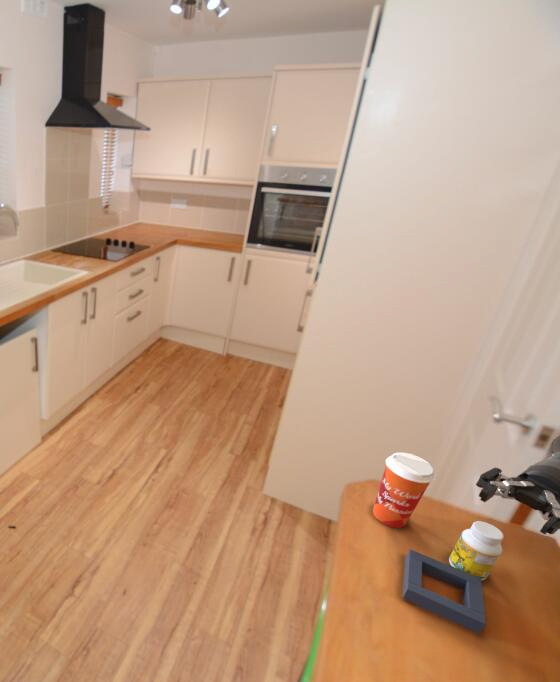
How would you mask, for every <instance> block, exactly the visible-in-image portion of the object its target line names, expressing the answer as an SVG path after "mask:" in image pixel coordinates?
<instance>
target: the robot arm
mask: <svg viewBox="0 0 560 682" xmlns="http://www.w3.org/2000/svg"><path fill="white" fill-rule="evenodd" d="M502 472H503V470H502V469H501V468H499V467H493V468H491V469H489V470H487V471H485V472H483V473H481V474H480V475H479V478H478V480H477V482H476V483H475V486H476V487H478V488H480V489H481V490H480V491H479V494H478V497H479V498H480V499H479V500H480V501H481V502H483V503H486V502H488V501H489V500H490V499H492V498H493V497H494V496H496V497H497V496H498V497H501V498H502V499H508V500H515V501H516V502H518V503H521V504H523V505H526V506H528V507H529V508H530V509H533V510H534V511H538V513H539V514H540V516H541V518H542V519H543V520H545V521H546V522H545V523H544V524H543V526H542V527H541V528H540V530H539V532H540V533H541V534H543V535H547V534H549V535H554V534H556V532H557V531H559V530H560V436H559V435H557V436H556V437H555V438H553V440H552V441H551V442H550V444H549V446H548V448H547V452H546V457H545V458H543V459H542V460H540V461H538V462H535V463H534V464H532V465H530V466H528V467H527V469H525V470H524V471H522V472H521V473H519V474H518V475H517V476H515V477H513V476H511V477H509V476H507V475H505V474H503V473H502Z"/></svg>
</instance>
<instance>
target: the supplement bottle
mask: <svg viewBox="0 0 560 682" xmlns="http://www.w3.org/2000/svg"><path fill="white" fill-rule="evenodd" d="M504 537H505V536H504V533H503V532H502V531H501V529H499V528H498V527H497V526H495V525H493V524H490V523H488V522H485V521H481V520H477V521H474V522H473V523H472V525H471V526H470V528H466V529H464V530H463V531H462V532H461V534H460V536H459V538H458V540H457V542H456V544H455V545H454V548H453V550H452V552H451V553H450V555H449V558H448V561H449V565H450V566H452V567H455V568H457V569H459V570H462V571H464V572H467V573H469V574H472V575H474V576H476V577H479V578H481V581H485V580H486V579H487V578H488V577H489V575H490V573H491V572H492V570H493V568H494V567H495V565H496V563H497V562H498V560H499V558H500V557H501V554H502V553H503V546H502V544H501V543H502V542H503V540H504Z"/></svg>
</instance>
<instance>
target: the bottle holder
mask: <svg viewBox="0 0 560 682" xmlns="http://www.w3.org/2000/svg"><path fill="white" fill-rule="evenodd" d="M423 575H426V576H428V577H431V578H433V579H436V580H438V581H440V582H442V583H444V584H447V585H449V586H452V587H454V588H456V589H459V590H461V595H462V604H461V603H459V602H457V601H454V600H451V599H449V598H447V597H445V596H443V595H441V594H438V593H436V592H434V591H432V590H429V589H428V588H426V587H422V586H423ZM482 582H483V580H481V578H479V577H476V576H474V575H472V574H469V573H467V572H464V571H462V570H459V569H457V568H455V567H452V566H451V564H447V563H444V562H443V561H440V560H438V559H435V558H432V557H430V556H428V555H425V554H423V553H420V552H418V551H415V550H413V549H408V551H407V554H406V556H405V558H404V570H403V584H402V585H403V587H402V599H403V600H405V601H407V602H410V603H411V604H413V605H416V606H418V607H420V608H422V609H424V610H427V611H429V612H431V613H432V614H435V615H438V616H439V617H441V618H444V619H446V620H448V621H450V622H452V623H455V624H457V625H459V626H461V627H464V628H466V629H467V630H469V631H472V632H474V633H476V634H478V635H480V634H481V633H482V631H483V630H484V628H485V627H486V626H487V621H486V610H485V601H484V591H483V583H482Z"/></svg>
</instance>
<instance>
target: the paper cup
mask: <svg viewBox="0 0 560 682" xmlns="http://www.w3.org/2000/svg"><path fill="white" fill-rule="evenodd" d="M385 464H386V465H385V467H384V471H383V473H382V478H381V482H380V485H379V489H378V491H377V495H376V499H375V502H374V505H373V509H372V514H373V516H374V517H375V518H376V519H377V520H378V521H379V522H381V523H382V524H383V525H385V526H387V527H391V528H396V529H401V528H403V527H405V526H406V525H407V523H408V522H409V519H410V518H411V516H412V514H413V513H414V511H415V510H416V508H417V506H418V505H419V503H420V501H421V499H422V497H423V495H424V494H425V492H426V491H427V489H428V487H429V485H430V484H431V483H433V482H435V481H436V478H437V476H436V473H435V470H434V467H433V466H432V465H431V464H430V463H429V462H428V461H427V460H425V459H424V458H422V457H420V456H418V455H415V454H413V453H409V452H404V451H403V452H402V451H401V452H399V451H398V452H394V453H393V454H392V455H390V456H388V457H387V458H386V459H385Z"/></svg>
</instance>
